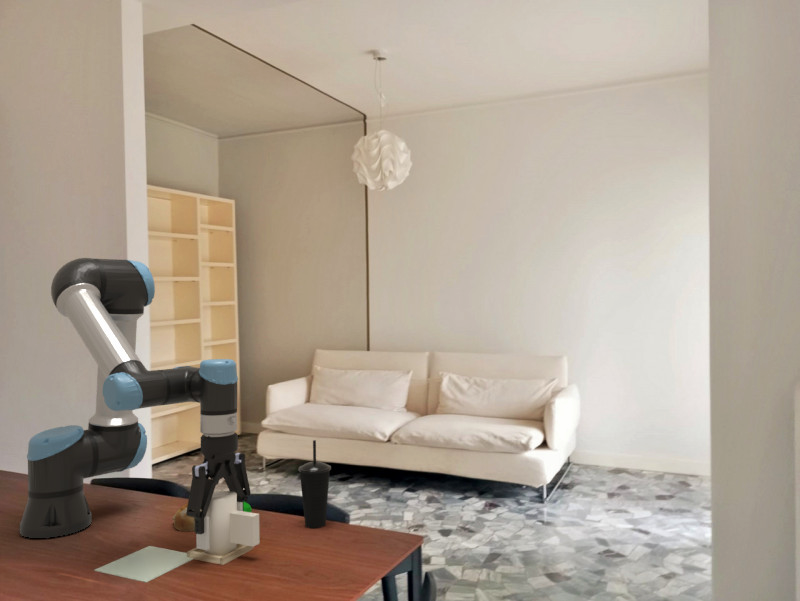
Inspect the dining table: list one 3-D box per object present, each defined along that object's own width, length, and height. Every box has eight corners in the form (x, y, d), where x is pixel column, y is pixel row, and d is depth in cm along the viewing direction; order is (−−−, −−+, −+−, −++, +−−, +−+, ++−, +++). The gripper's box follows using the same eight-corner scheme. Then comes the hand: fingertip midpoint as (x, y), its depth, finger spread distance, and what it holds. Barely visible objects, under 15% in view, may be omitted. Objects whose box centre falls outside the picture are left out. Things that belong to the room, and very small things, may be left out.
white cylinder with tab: (196, 556, 133) (195, 498, 133) (218, 545, 139) (218, 489, 139) (245, 565, 128) (245, 505, 128) (266, 553, 134) (266, 495, 134)
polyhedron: (227, 521, 156) (227, 501, 156) (245, 517, 160) (245, 497, 160) (236, 526, 152) (236, 506, 153) (255, 522, 156) (255, 502, 156)
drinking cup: (325, 531, 148) (324, 444, 149) (294, 529, 150) (293, 443, 150) (335, 520, 156) (334, 437, 156) (305, 518, 157) (304, 437, 158)
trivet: (94, 573, 126) (94, 569, 126) (149, 548, 139) (149, 545, 139) (146, 585, 120) (146, 581, 120) (199, 558, 133) (199, 555, 133)
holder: (187, 560, 132) (187, 551, 132) (218, 544, 141) (218, 536, 141) (223, 567, 128) (223, 558, 128) (253, 550, 137) (252, 542, 137)
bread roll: (187, 551, 147) (197, 522, 145) (160, 525, 152) (169, 496, 150) (220, 538, 156) (230, 510, 154) (194, 513, 160) (203, 486, 159)
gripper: (195, 445, 123) (196, 562, 123) (266, 425, 143) (267, 525, 143) (165, 442, 126) (166, 556, 126) (239, 423, 147) (240, 521, 146)
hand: (220, 540), depth 135 cm, fingers open, 10 cm apart
